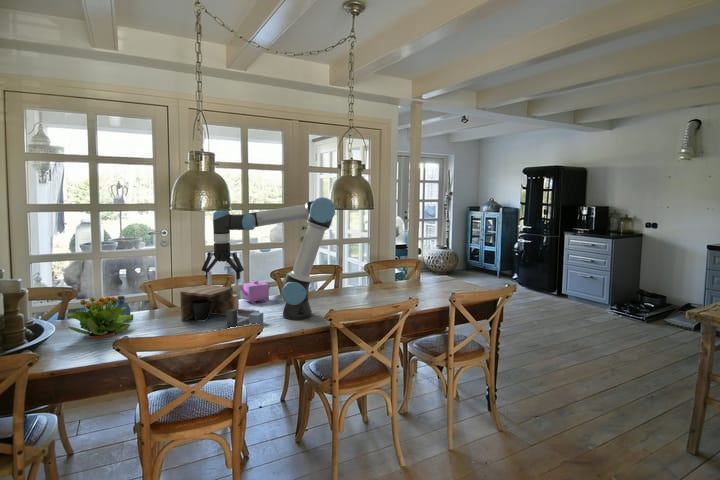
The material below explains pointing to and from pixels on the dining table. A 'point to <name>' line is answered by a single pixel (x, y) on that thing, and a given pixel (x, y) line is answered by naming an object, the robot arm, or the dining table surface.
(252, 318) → the cube
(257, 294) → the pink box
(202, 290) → the shelf
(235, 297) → the l-shaped block
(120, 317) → the potted flower
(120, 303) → the perfume bottle
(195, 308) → the mug
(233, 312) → the dark grey angular block
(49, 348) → the dining table surface
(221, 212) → the robot arm
